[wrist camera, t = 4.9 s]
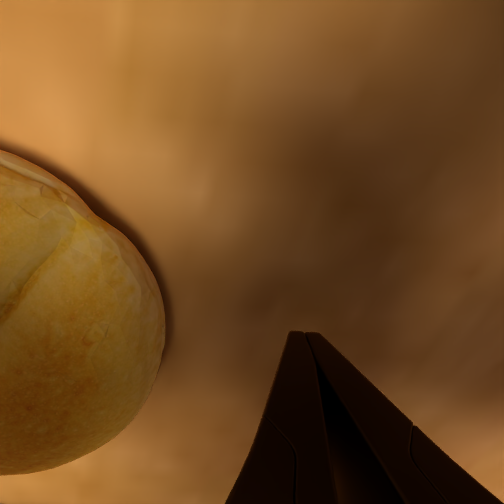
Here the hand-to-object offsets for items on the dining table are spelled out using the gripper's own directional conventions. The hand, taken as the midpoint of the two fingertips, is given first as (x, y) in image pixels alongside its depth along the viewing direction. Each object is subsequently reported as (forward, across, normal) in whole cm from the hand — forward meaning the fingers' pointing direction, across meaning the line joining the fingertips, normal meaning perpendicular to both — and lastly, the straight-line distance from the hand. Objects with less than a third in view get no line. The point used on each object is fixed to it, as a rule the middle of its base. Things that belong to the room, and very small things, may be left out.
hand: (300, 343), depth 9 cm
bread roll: (+2, +8, 0) cm, 9 cm away
